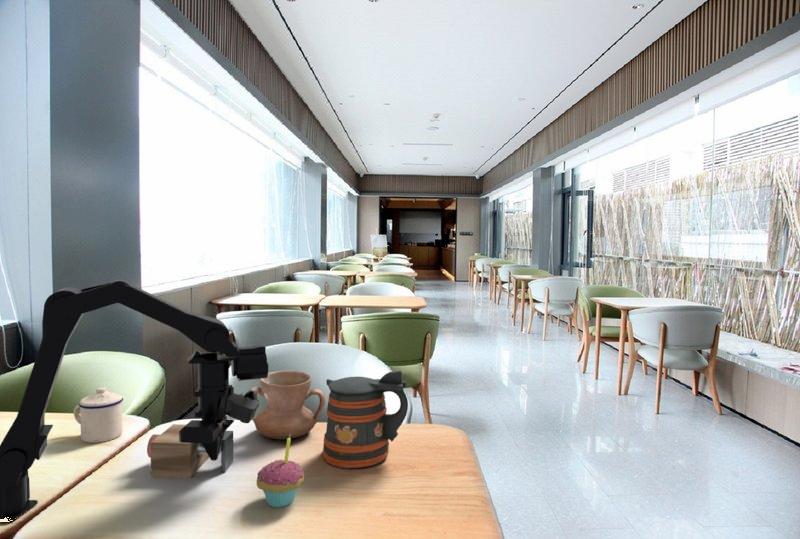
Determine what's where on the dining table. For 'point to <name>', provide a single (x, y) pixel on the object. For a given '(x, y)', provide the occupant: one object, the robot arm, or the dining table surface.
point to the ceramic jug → (286, 405)
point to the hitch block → (174, 455)
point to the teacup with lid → (100, 416)
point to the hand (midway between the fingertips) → (214, 459)
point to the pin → (199, 446)
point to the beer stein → (362, 420)
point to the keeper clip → (227, 451)
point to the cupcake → (280, 480)
